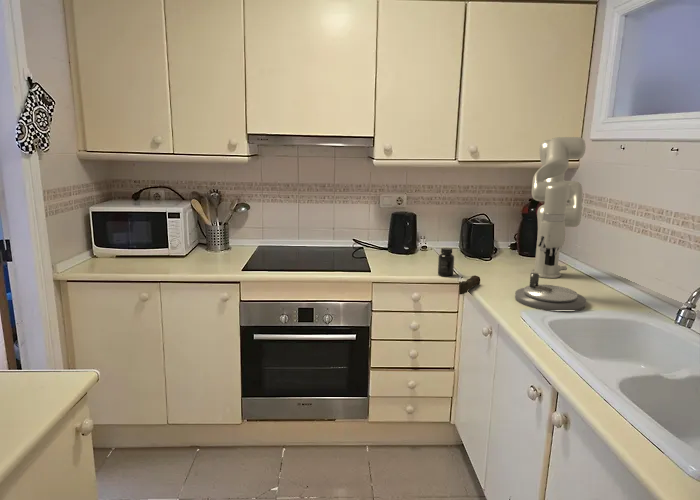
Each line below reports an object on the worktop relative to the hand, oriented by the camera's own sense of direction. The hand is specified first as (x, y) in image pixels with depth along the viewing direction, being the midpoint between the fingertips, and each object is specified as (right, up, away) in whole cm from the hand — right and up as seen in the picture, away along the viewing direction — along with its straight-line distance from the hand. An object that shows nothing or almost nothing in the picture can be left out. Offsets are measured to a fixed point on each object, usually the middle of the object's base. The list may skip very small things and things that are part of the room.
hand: (549, 264), depth 182 cm
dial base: (-3, -13, -8) cm, 16 cm away
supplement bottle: (-34, -6, +29) cm, 45 cm away
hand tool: (-29, -10, +7) cm, 32 cm away
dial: (-3, -11, -8) cm, 14 cm away
